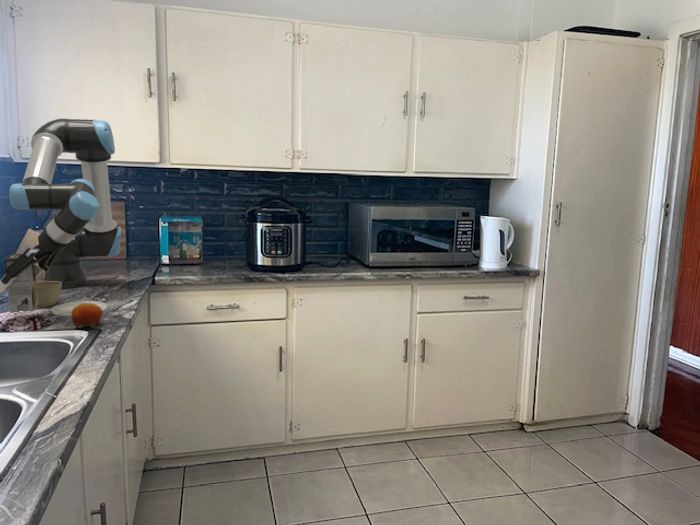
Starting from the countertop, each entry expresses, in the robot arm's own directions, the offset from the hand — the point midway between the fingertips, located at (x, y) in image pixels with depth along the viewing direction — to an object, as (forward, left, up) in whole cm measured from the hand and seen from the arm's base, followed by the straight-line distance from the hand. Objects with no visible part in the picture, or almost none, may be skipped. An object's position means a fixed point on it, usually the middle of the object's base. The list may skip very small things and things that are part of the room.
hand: (13, 285), depth 163 cm
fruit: (+4, +26, -11) cm, 28 cm away
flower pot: (-16, -2, -10) cm, 19 cm away
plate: (-12, +13, -10) cm, 20 cm away
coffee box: (0, +3, -7) cm, 8 cm away
